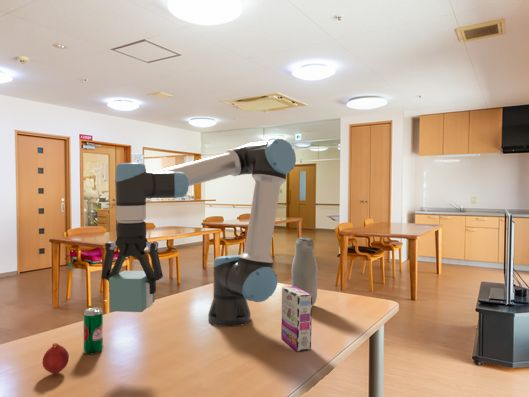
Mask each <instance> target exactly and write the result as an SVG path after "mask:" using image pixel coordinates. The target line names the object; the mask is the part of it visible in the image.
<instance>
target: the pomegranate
mask: <svg viewBox="0 0 529 397" xmlns="http://www.w3.org/2000/svg"><path fill="white" fill-rule="evenodd" d="M69 358H70V355H69V352H68V350H67V349H66V348H65V346H62V345H61V344H58V342H54V343H53V344H52V346H51V347H50V348H48V350H46V352H45V353H44V355H43V357H42V367H43V369H44V370H45V371H46V372H49V373H51V374H52V375H54V376H55V375H58V374H60V373H61V371H63V370H64V369H65V368H66V367H67V365H68V363H69Z"/></svg>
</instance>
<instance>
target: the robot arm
mask: <svg viewBox="0 0 529 397" xmlns="http://www.w3.org/2000/svg"><path fill="white" fill-rule="evenodd" d="M296 158H297V155H296V152H295V149H294V148H293V146H292V144H291V143H290V142H289V141H287V140H286V139H283V138H270V139H263V140H258V141H252V142H249V143H247V144H243V145H241V146H238V147H234V148H232V149H228V150H226V152H225V153H223V154H219V155H215V156H211V157H207V158H202V159H199V160H195V161H190V162H186V163H182V164H178V165H174V166H169V167H166V168H162V169H156V170H152V171H151V170H147V168H146V165H145V163H139V162H120V163H118V164H117V165H116V167H115V176H114V177H115V178H114V179H115V180H114V182H115V199H116V200H115V203H116V206H115V215H116V216H115V219H116V221H118V222H117V223H116V224H115V225H116V228H115V229H116V231H115V232H116V240H115V241H112V240H111V241H109V242H105V244H104V247H105V253H104V254H105V256H104V260H103V267H102V272H101V279H102V280H106V281H107V282H109V278H111V277H113V276H115V275H117V274H119V273H120V271H121V269H122V267H123V264H124V263H125V260H126V258H127V257H133V258H134V257H135V258H136V259H137V261H138V262H139V264H140V265H141V266H140V267H141V268H142V271H144V272H145V274H146V276H147V279H148V282H147V283H146V307H148V308H150V307H151V306H153V304H154V303H153V294H154V295H155V293H156V292H157V281H159V280H161V279H162V278H163V277H164V274H163V270H162V266H161V261H160V256H159V252H158V250H159V242H157V241H155V242H151V241H148V239H147V222H146V221H145V220H146V219H147V199H179V198H181V199H182V198H184V197H185V196H186V195H187V193H188V191H189V187H191V186H196V185H199V184H202V183H206V182H210V181H214V180H216V179H219V178H220V179H221V178H225V177H227V176H232V177H237V176H242V175H251V177H252V178H253V180H254V182H255V183H254V187H253V188H254V189H253V190H254V191H253V196H252V202H251V207H250V208H251V209H250V215H249V220H248V227H247V234H246V240H245V245H244V251H243V252H242V253H241V254H232V255H231V254H230V255H223V256H222V255H221V256H217V257H215V259H214V260H213V265H212V266H213V267H212V269H213V296H212V297H213V299H212V302H211V304H210V307H209V310H208V318H207V320H208V322H209V324H212V325H214V326H217V327H218V326H220V327H238V326H241V325H242V326H243V325H245V324H247V323H249V322H250V321H251V310H250V307H249V304H248V301H249V302H255V303H261V302H265V301H267V300H268V299H269V298H270V297H272V296H273V294H274V293H275V292H276V289H277V286H278V275H277V274H276V272H275V270H274V269H273V266H274V260H273V258H272V257H271V255H270V254H271V249H272V243H273V236H274V232H275V231H274V229H275V223H276V217H277V210H278V204H279V196H280V192H281V191H280V190H281V186H282V185H284V183H285V182H287V181H286V180H287V175H288V174H289V173H291V172H292V170H294V168H295V166H296V163H297V162H296V161H297V159H296ZM116 247H117V249H118V250H119V252H118V254H117V256H116V259H115V263H114V265H113V262H114V256H115V250H116ZM146 248H147V249H148V251H149V257H150V260H151V263H150V261H149V260H148V258H147V253H146V251H145V249H146ZM151 265H152V266H151ZM153 271H154V272H153Z"/></svg>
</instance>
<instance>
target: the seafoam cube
mask: <svg viewBox="0 0 529 397" xmlns="http://www.w3.org/2000/svg"><path fill="white" fill-rule="evenodd" d="M153 272H154V270H153ZM147 282H148V279H147V276H146V274H145V272H144V270H123V271H121V272H119V274H117V275H115V276H113V277H111V278H109V281H108V293H109V294H108V295H109V296H108V297H109V298H108V300H109V301H108V302H109V312H117V313H118V312H120V313H121V312H123V313H124V312H125V313H143V312H144V311H145V310H147V308H148V309H149V307H146V283H147ZM154 302H155V293H154V294H153V304H154Z"/></svg>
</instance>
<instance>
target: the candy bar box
mask: <svg viewBox="0 0 529 397" xmlns="http://www.w3.org/2000/svg"><path fill="white" fill-rule="evenodd" d="M312 317H313V305H312V295H311V294H309V293H307V292H305V291H303V290H301V289H299V288H297V287H292V286H286V287H282V288H281V329H280V330H281V331H280V332H281V334H280V335H281V336H280V337H281V338H280V339H281V340H282V341H284V342H285V343H286V345H287V344H288V346H289V347H291V348H293V349H294V350H295V351H296V352H298V353H299V352H304V351H311V349H312Z"/></svg>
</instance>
